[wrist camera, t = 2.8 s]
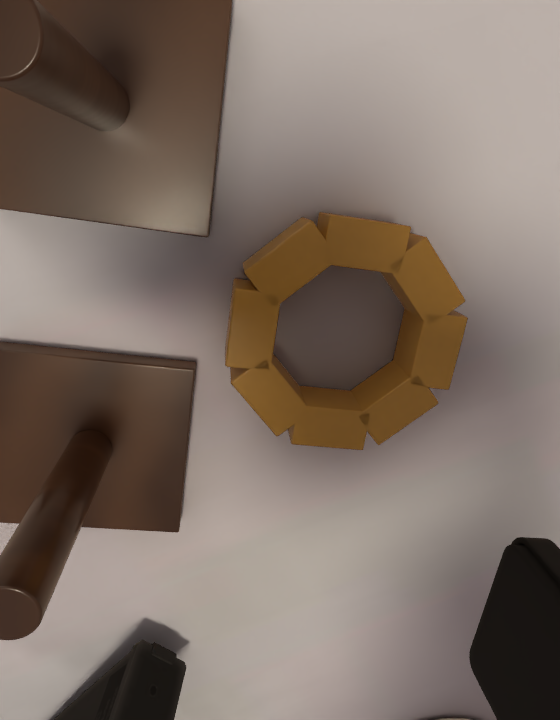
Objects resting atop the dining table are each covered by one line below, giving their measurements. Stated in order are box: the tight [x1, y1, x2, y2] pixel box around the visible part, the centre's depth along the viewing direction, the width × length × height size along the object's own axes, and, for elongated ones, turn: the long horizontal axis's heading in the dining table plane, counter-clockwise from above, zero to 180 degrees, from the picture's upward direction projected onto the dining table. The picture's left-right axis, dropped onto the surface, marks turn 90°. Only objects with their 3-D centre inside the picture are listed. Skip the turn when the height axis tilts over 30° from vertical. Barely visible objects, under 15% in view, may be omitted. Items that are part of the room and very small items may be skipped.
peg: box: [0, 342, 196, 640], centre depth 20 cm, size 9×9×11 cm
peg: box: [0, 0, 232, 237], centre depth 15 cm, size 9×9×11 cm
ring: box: [225, 212, 468, 450], centre depth 24 cm, size 10×10×3 cm
